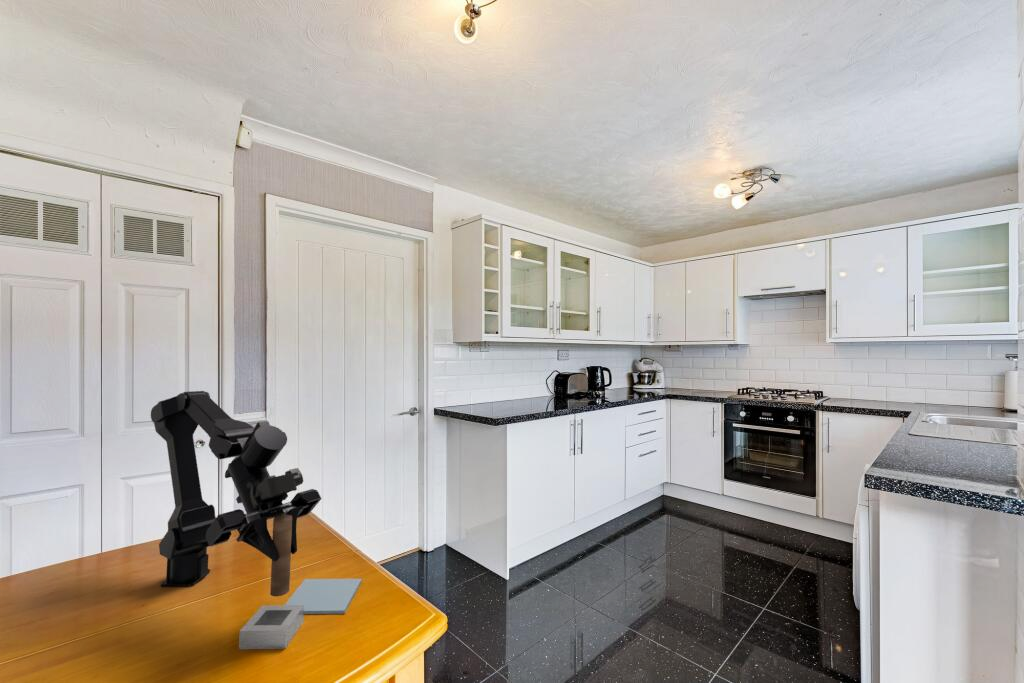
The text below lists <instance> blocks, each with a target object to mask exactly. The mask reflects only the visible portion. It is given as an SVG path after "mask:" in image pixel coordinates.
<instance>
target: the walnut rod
mask: <svg viewBox="0 0 1024 683" xmlns="http://www.w3.org/2000/svg"><path fill="white" fill-rule="evenodd" d="M272 521H273V522H272V524H273V525H272V540H273V542H274V545H275V547H276V549H277V552H278V555H279V559H278V560H277V561H273V560H272V559H271V568H270V590H269V591H270V592H269V595H270V596H272V597H274V598H275V597H276V598H277V597H282V596H285V595H287V594H288V593H289V592H290V583H291V582H290V581H291V580H290V579H291V561H292V560H291V557H292V556H291V555H292V553H291V537H292V516H291V515H281V516H277V517H275V518H272Z"/></svg>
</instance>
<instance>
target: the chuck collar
mask: <svg viewBox="0 0 1024 683" xmlns="http://www.w3.org/2000/svg"><path fill="white" fill-rule="evenodd" d="M304 616H305V614H304V605H285V604H283V605H280V604H279V605H273V604H272V605H271V604H270V605H261V606H260V607H259V608H258V609H257V611H256V612H255V613H254V614H253V615H252V617H250V619H249V620H248V621H247V622H246V623H245V624H244V626H242V628H240V630H239V637H238V638H239V640H238V650H276V649H277V650H280V649H282V650H283V649H287V647H288V645H289V644H290V643H291V641H292V640H293V638H294V637H295V635H296V634H297V632H298V630H299V629H300V628H301V626H302V625H303V623H304Z"/></svg>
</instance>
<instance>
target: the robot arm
mask: <svg viewBox="0 0 1024 683" xmlns="http://www.w3.org/2000/svg"><path fill="white" fill-rule="evenodd" d="M150 419H151V421H152V423H153V424H154V431H155V432H156V434H157V435H159V436H160V437H161V438H162V439H163V440H164V441H165V442H166V448H167V454H168V462H169V470H170V478H171V483H172V484H171V485H172V492H173V493H172V494H173V500H174V510H173V511H172V513H171V515H170V517H169V519H168V521H167V531H166V533H165V534H164V536H163V538H161V540H160V542H159V543H158V548H159V549H158V550H159V555H161V556H162V557H165V559H166V576H165V580H163V581H162V582H161V583H160V586H161V587H191V586H194V585H195V584H197V583H198V582H199V581H200V580H201V579H203V578H204V577H205V576H207V574H209V573H210V572H211V569H210V568H209V554H208V553H207V551H208V550H207V549H208V547H214V546H217V545H220V544H223V543H226V542H228V541H229V540H230V538H231V536H232V532H233V531H235V530H237V532H238V534H239V535H238V536H237V538H236V539H235V540H236V542H238V543H240V542H244V543H245V544H247V545H249V546H251V547H252V548H254V549H256V550H257V551H259V552H261V553H262V554H263V555H265V556H266V557H267V558H268V559H270V560H271V561H272V560H273V561H277V560H278V559H279V555H278V552H277V549H276V547H275V545H274V542H273V537H272V536H271V533H270V532H269V530H268V520H272V519H274V518H275V517H277V516H281V515H291V516H292V537H291V555H294V554H296V553H297V551H298V543H297V542H298V540H297V528H296V523H297V524H298V519H299V518H302V517H306V516H308V515H309V514H310V513H311V512H312V511H313V509H315V508H316V506H317V505H318V504H319V502H320V501H321V500H322V497H321V495H320V493H319V491H318V490H317V489H314V488H311V489H308V490H303V491H300V492H297V493H296V494H295V495H294V497H293V498H292V499H291V500H290V501H288V502H285V503H283V501H286V500H287V498H288V497H289V495H288V494H289V493H290V492H296V491H297V490H298V489H297V487H298V486H300V485H303V483H304V477H303V474H302V472H301V470H300V468H298V467H295V468H292V469H289V470H286V471H285V472H284V474H281V475H277V476H276V475H275V474H274V475H270V472H269V471H268V468H267V467H270V466H271V465H272V464H273V463H274V461H275V459H277V457H278V456H279V455H280V452H282V450H283V449H284V447H285V446H286V445H287V442H288V437H287V434H286V432H285V431H283V430H281V429H280V428H279V427H277V426H274V425H271V423H270V421H268V420H266V421H259V422H257V423H256V424H255V425H254V426H253V425H251V424H249V423H247V422H246V421H242V420H237V419H234V418H232V417H231V416H230V415H229V414H227V412H225V410H223V409H222V408H221V407H220V406H219V405H218V404H217V403H216V402H215V400H213V399H212V398H211V396H210V393H209V392H207V391H204V390H194V391H183V392H181V393H179V394H177V395H176V396H173V397H170V398H166V399H163V400H160V401H158V402H157V404H155V405H154V406H153V407H152V408H151V410H150ZM198 426H199V427H200V428H201V429H202V430H203V431H204V432H205V433H206V434H207V436H208V437H209V442H208V447H209V449H210V451H211V453H212V454H213V455H214V456H215V457H216V458H217V459H218V460H225V459H230V458H233V459H232V460H231V461H230V463H228V466H227V469H226V470H225V473H224V478H225V479H229V478H231V480H232V482H233V484H234V486H235V489H236V492H237V494H238V496H237V497H236V498H235V501H236V502H237V504H242V505H243V508H244V510H245V511H244V510H242V509H240V508H238V509H235V510H230V511H228V512H224V513H220V514H218V515H217V516H216V510H215V506H214V505H213V504H209V503H207V502H206V501H205V500H203V496H202V488H201V482H200V480H201V479H200V475H199V468H198V461H197V454H196V453H197V452H196V447H195V442H194V441H195V440H194V433H195V432H196V430H197V429H198Z"/></svg>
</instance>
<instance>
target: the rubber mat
mask: <svg viewBox="0 0 1024 683" xmlns="http://www.w3.org/2000/svg"><path fill="white" fill-rule="evenodd" d="M362 582H363V579H362V578H305V579H304V580H303V581H302V582H301V584H299V586H298V587H297V589H296V590H295V591H294V592H293V594H292V595H291V596H290V598H289V599H288V600H287V601H286V603H284V605H304V615H328V614H329V615H333V614H335V615H336V614H341V615H343V614H345V613H346V611H347V610H348V609H349V606H350V604H351V602H352V601H353V599H354V597H355V595H356V593H357V591H358V590H359V587H360V586H361V584H362Z"/></svg>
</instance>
